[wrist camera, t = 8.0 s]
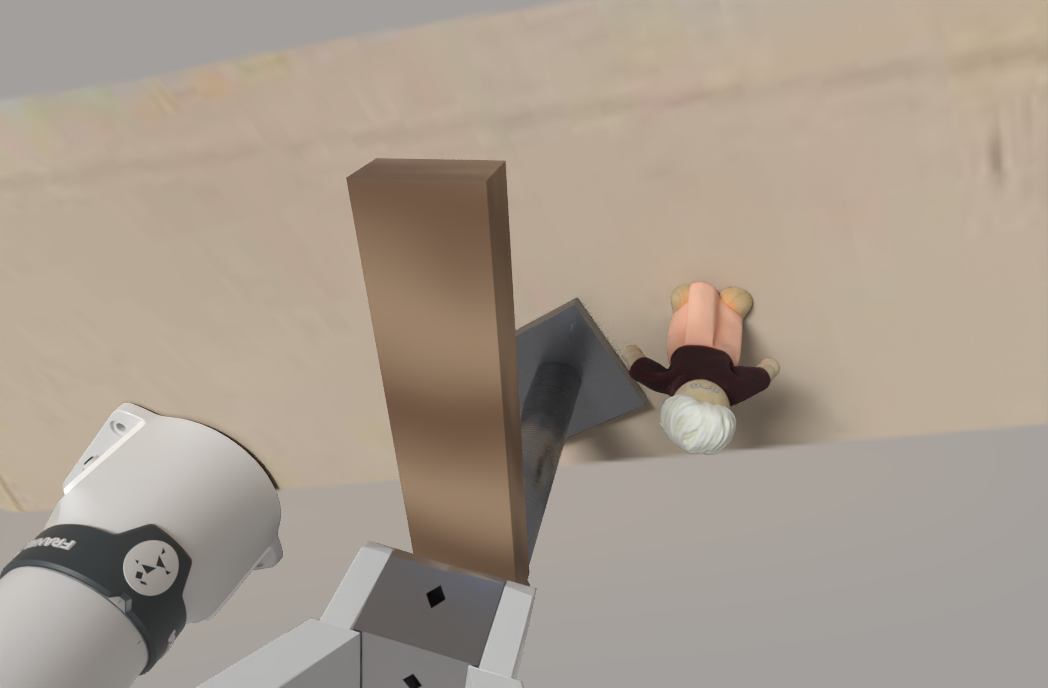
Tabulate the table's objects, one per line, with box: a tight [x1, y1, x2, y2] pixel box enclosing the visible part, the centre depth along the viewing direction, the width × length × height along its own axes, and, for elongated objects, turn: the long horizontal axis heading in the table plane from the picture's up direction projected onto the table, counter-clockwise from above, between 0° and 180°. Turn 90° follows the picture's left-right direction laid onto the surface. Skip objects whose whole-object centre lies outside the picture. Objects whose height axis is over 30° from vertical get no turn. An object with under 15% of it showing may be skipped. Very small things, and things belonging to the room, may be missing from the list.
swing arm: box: [346, 158, 530, 586], centre depth 24 cm, size 20×4×2 cm, turn 2°
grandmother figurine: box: [623, 282, 780, 455], centre depth 34 cm, size 8×4×13 cm, turn 102°
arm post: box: [515, 298, 646, 564], centre depth 37 cm, size 8×8×17 cm
